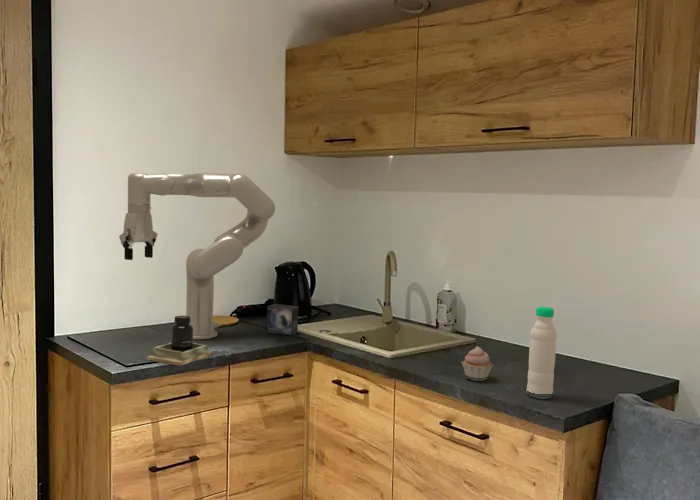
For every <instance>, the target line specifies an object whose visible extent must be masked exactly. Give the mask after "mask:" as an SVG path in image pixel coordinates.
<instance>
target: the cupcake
mask: <svg viewBox="0 0 700 500" xmlns="http://www.w3.org/2000/svg"><path fill="white" fill-rule="evenodd" d="M460 363H461V365H462V367H463V370H464V371H463V372H464V376H465V375H467V376H469V377H474V378H486V377H488V378H489V375H490V371H491V369H492V368H493V366H494V364H492V362H490V356H489V354H488V353H487V352H485V351H484V350H483V349H482V348H481V347H479V346H478V345H477V346H476V347H475V348H473V349H471V350H470V351H468V353H467V354H466V355H465V357H464V360H463V361H461V362H460Z"/></svg>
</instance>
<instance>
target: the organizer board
mask: <svg viewBox="0 0 700 500" xmlns="http://www.w3.org/2000/svg"><path fill="white" fill-rule="evenodd" d="M213 354H214V352H213V351H210V350H209V345H208V344H203V343H195V342H193V349H191V350H188V351H184V352H180V351H175V350H171V342H169V343H164V344H160V345H158V346H154V347H152V355H148V356H146V359H147V361H151V360H152V362H156V363H157V362H158V363H162V364H169V365H174V366H177V367H181V366H185V365H188V364H190V363H193V362H196V361H199V360H202V359H206V358H208V357H212V356H213Z"/></svg>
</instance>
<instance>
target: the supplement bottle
mask: <svg viewBox="0 0 700 500" xmlns="http://www.w3.org/2000/svg"><path fill="white" fill-rule="evenodd" d="M189 323H190V316H186V315H175V317H174V324H173V325H172V326H171V329H170V343H171V350H175V351H180V352H184V351H188V350H191V349H193V343H194V339H193V327H192V326H191V325H190V324H189Z"/></svg>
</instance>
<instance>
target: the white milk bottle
mask: <svg viewBox="0 0 700 500" xmlns="http://www.w3.org/2000/svg"><path fill="white" fill-rule="evenodd" d="M535 315H536V321H535V323H534V324H533V327H532V328H531V329H530V341H529V352H528V371H527V385H526V392H527V391H529V392H531V393H535V394H552V393H553V394H554V379H555V373H554V371H555V364H556V353H557V352H556V351H557V345H556V344H557V337H558V334H557V331H556V328H555V326H554V323H553V319H554V316H555V309H554V308H553V307H550V306H549V307H548V306H538V307H537V308H536V309H535Z"/></svg>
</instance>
